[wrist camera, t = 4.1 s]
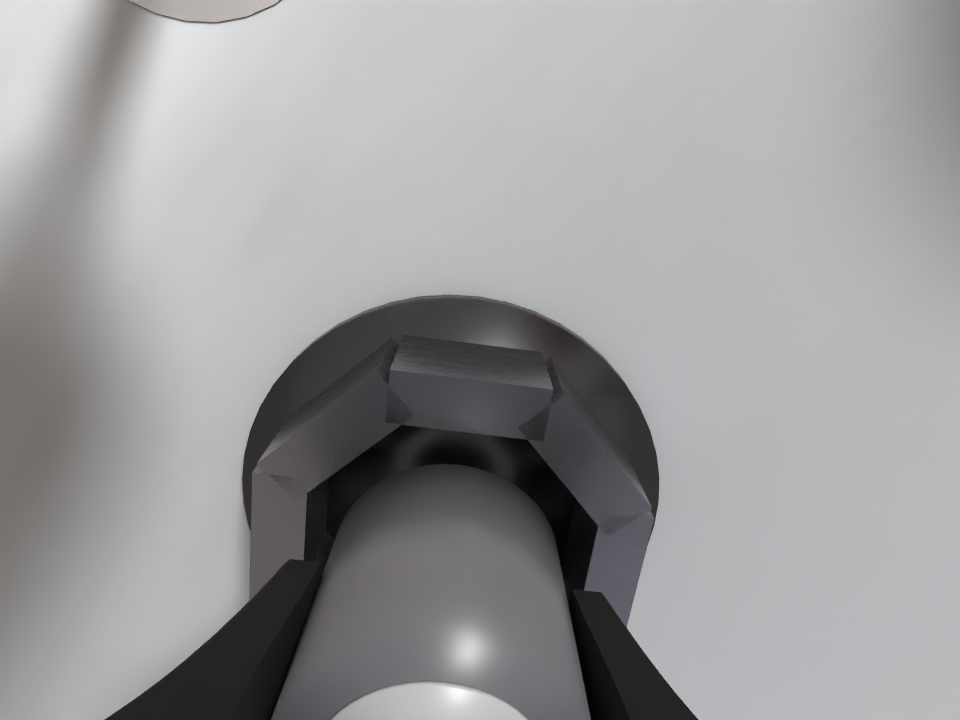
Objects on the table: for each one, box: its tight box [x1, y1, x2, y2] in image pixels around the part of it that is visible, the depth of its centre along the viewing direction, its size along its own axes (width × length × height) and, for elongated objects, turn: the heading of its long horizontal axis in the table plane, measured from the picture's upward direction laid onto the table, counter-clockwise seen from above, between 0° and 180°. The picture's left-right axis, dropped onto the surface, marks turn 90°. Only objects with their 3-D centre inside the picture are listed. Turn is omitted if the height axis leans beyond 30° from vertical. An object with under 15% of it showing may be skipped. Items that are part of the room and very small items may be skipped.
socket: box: [242, 295, 659, 627], centre depth 16 cm, size 11×11×3 cm
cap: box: [271, 464, 591, 720], centre depth 12 cm, size 5×5×5 cm
